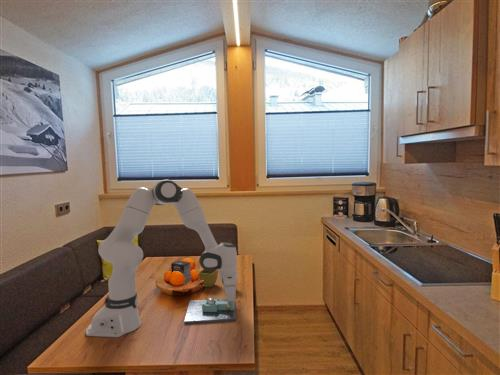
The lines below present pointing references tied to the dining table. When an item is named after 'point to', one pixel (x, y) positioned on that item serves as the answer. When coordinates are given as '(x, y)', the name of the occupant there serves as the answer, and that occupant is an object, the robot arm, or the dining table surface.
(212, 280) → the flower pot
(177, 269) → the coffee box
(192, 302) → the base plate
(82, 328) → the dining table surface
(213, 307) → the flange
